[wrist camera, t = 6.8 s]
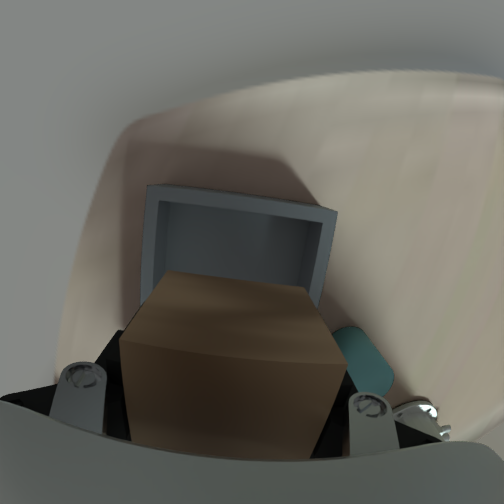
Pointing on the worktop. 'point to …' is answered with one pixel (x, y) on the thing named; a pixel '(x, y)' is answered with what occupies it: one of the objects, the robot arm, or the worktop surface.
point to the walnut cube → (229, 368)
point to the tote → (234, 238)
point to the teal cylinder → (364, 361)
